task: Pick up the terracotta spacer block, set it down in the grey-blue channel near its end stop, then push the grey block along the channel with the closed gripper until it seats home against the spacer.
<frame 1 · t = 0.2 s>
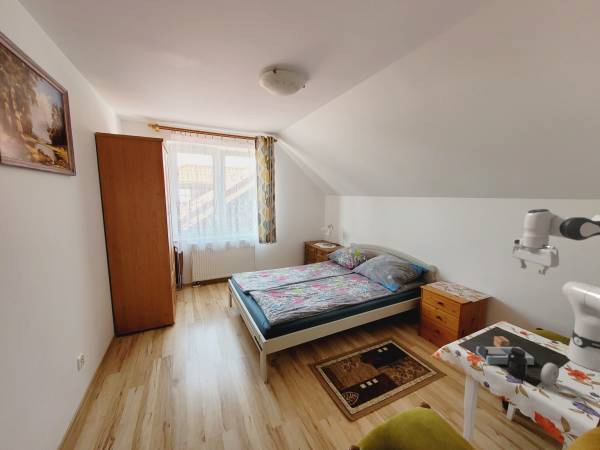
hand: (532, 271, 114), 47 cm above the table, fingers open, 8 cm apart
spacer: (500, 347, 131), on the table
grey block: (492, 351, 122), point 4 cm above the table, slide at 0.0 cm
supplement bottle: (516, 374, 111), on the table
donut: (548, 385, 105), on the table
channel: (503, 358, 122), on the table
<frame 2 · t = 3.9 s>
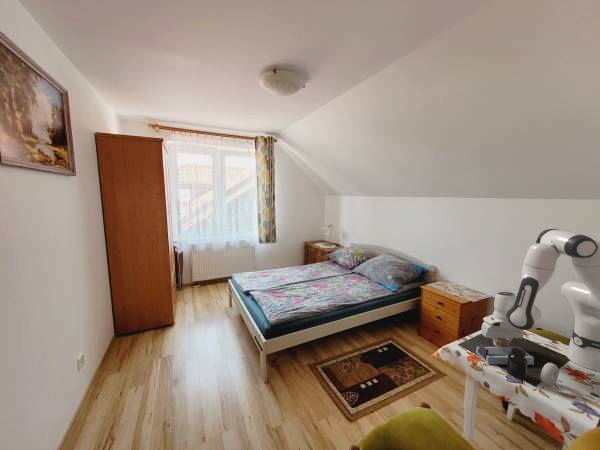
hand: (501, 344, 131), 2 cm above the table, fingers closed on spacer, 4 cm apart
spacer: (500, 346, 131), on the table, touching gripper
everything else where it was.
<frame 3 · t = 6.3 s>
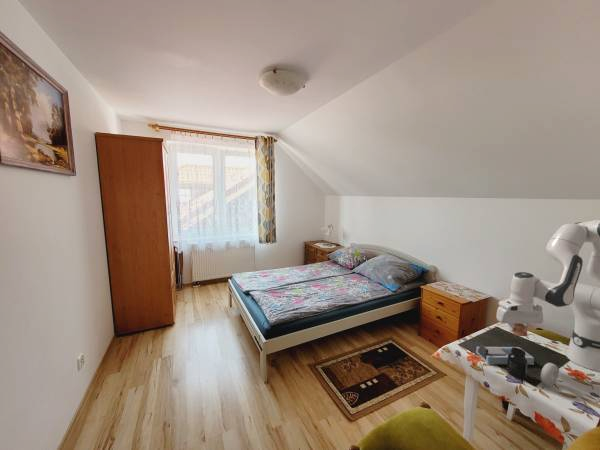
hand: (518, 330, 120), 15 cm above the table, fingers closed on spacer, 4 cm apart
spacer: (518, 333, 120), point 14 cm above the table, touching gripper
everything else where it was.
when the fingers open (4 cm above the table, at t = 8.6 s): spacer drops 1 cm, resting on channel.
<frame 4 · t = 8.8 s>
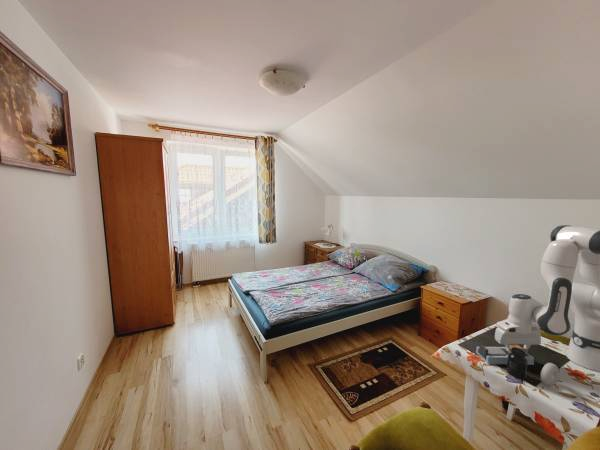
hand: (516, 351, 121), 4 cm above the table, fingers open, 6 cm apart
spacer: (516, 356, 121), point 1 cm above the table, touching channel
everything else where it was.
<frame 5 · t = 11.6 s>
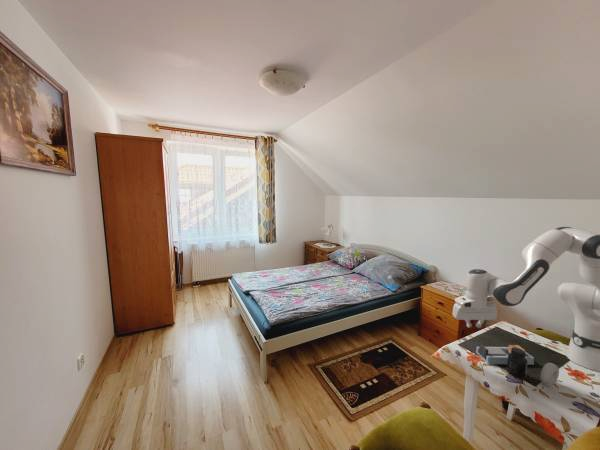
hand: (473, 326, 121), 17 cm above the table, fingers open, 3 cm apart
nothing on the table moved.
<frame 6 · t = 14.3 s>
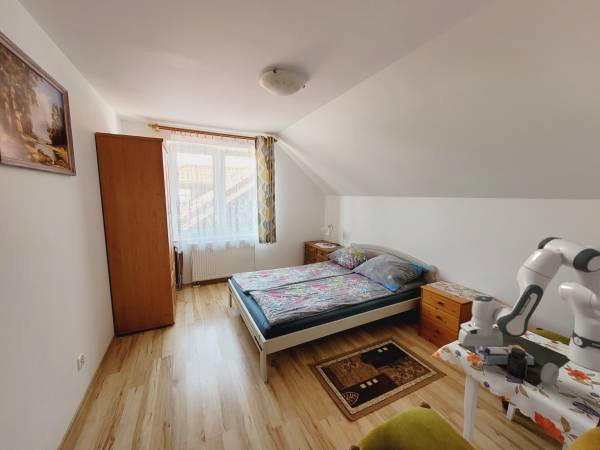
hand: (479, 352, 122), 3 cm above the table, fingers closed
grey block: (494, 351, 122), point 4 cm above the table, slide at 1.1 cm, touching gripper
everything else where it was.
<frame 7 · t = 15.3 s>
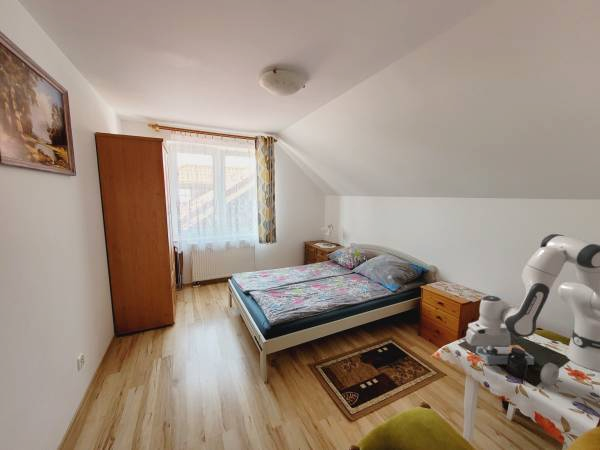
hand: (487, 352, 122), 3 cm above the table, fingers closed
spacer: (516, 356, 121), point 1 cm above the table, touching channel, grey block
grey block: (501, 351, 122), point 4 cm above the table, slide at 4.6 cm, touching gripper, spacer
everything else where it was.
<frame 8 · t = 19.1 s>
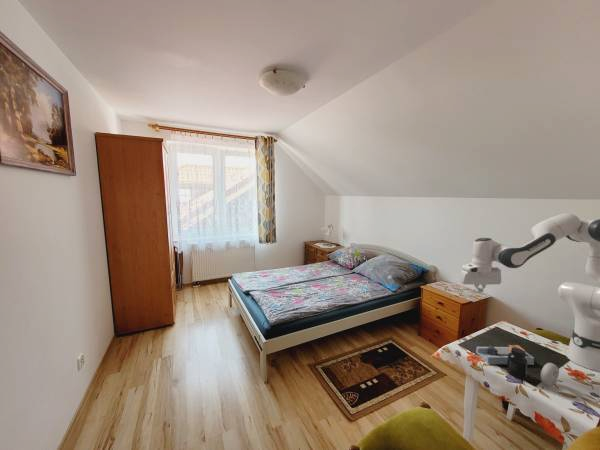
hand: (479, 291, 131), 31 cm above the table, fingers closed
grey block: (501, 351, 122), point 4 cm above the table, slide at 4.6 cm, touching spacer
everything else where it was.
at the end: grey block slide at 4.6 cm; spacer 0.1 cm from the target spot on the channel, point 1.0 cm above the channel's base; spacer tilted 0° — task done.
